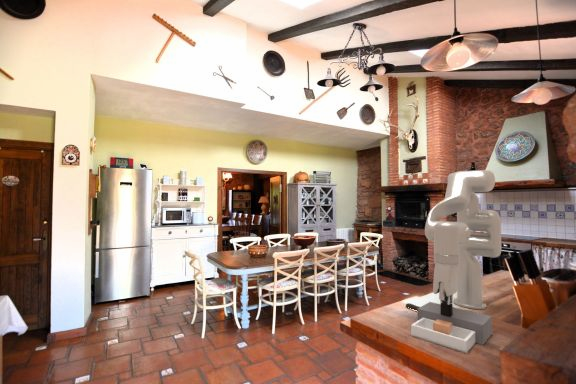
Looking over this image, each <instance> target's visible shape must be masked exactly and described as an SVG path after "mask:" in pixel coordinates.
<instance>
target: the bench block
mask: <svg viewBox="0 0 576 384" xmlns="http://www.w3.org/2000/svg"><path fill="white" fill-rule="evenodd" d="M419 307H420V308H418V312H417V321H418V320H420V319H421V318H427V319H430V320H434V321H436V320H437V319H439V320H443V321H447V322H451V323H452V325H453V326H456V327H460V328H464V329H467V330H471V331H475V336H476V343H475V344H479V345H482V346H484V345H485V343H486V342H487V341H488V340H489V339H490V337H491V336H492V335H491V333H493V331H492V330H493V328H492V326H493V325H492V323H493V322H492V320H493V319H492V315H488V314H484V313H481V312H480V313H479V312H474V311H470V310H466V309H463V308H458V307H454V306H453V316H451V317H447V316H443V315H441V303H436V302H432V301H428V302H427V303H425V304H424V305H422V306H419ZM490 335H491V336H490ZM489 336H490V337H489ZM487 339H488V340H487Z"/></svg>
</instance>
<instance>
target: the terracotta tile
mask: <svg viewBox="0 0 576 384" xmlns="http://www.w3.org/2000/svg"><path fill="white" fill-rule="evenodd" d="M433 331H437V332H440V333H444V334H447V335H449V334H450V333H451V332H452V323H451V322H447V321H443V320H439V319H437V320H436V321H434V322H433Z"/></svg>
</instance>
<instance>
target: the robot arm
mask: <svg viewBox="0 0 576 384" xmlns="http://www.w3.org/2000/svg"><path fill="white" fill-rule="evenodd" d="M495 184H496V176H495V174H494V172H493V170H485V169H484V170H483V169H481V170H480V169H477V170H476V169H475V170H463V171H462V170H461V171H459V170H458V171H456V172H455V171H454V172H452V173H450V174H448V175H447V185H446V190H445V195H444V199H443V200H441V201H439V202H438V203H437V204H435V205H434V206H433V207H432V208H431V209H430V210H429V212H428V214H427V217H426V222H425V224H424V225H425V226H424V235H425V237H426V239H427V240H429V241H431V242H433V263H434V270H433V282H432V283H433V284H432V285H433V286H432V293H433V294H435V295H437V294H438V300H439V302H440V303H439V304H441V315H443V316H447V317H451V316H453V307H454V306H453V304H455V305H457V306H460V307H462V308H466V309H472V310H485V309H487V304H486V303H485V302H483V270H482V269H483V267H482V263H481V262H480V261H479V259H478V258H477V257H488V258H498V257H500V256H501V253H502V227H501V226H502V225H501V217H500V215H499V213H498V212H497V211H496V210H493V209H480V200H479V199H480V198H479V196H478V194H476V192H477V193H480V192H481V193H486V192H490V191H491V192H492V190H493V189H494V187H495ZM454 214H456V215H457V221H444V220H443V221H442V220H441V219H443V218H445V217H447V216H450V215H454ZM471 232H482V233H483V232H485V233H487V234H482V233H480V234H479V233H471ZM476 256H477V257H476ZM455 293H456V298H453V297H454V294H455Z"/></svg>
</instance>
